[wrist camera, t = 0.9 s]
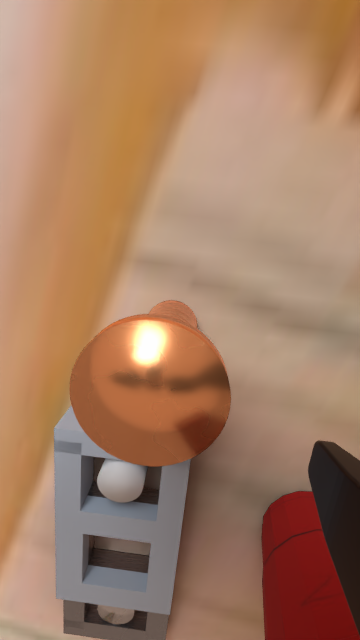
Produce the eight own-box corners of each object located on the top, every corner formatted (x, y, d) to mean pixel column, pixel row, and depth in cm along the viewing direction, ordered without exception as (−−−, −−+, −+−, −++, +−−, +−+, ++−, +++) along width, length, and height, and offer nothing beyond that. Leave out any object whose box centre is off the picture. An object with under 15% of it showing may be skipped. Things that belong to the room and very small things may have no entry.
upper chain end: (193, 420, 19) (192, 445, 17) (172, 577, 23) (169, 614, 21) (71, 405, 20) (54, 428, 17) (70, 562, 23) (56, 598, 21)
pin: (221, 286, 17) (242, 331, 9) (209, 370, 18) (218, 475, 10) (130, 276, 17) (69, 311, 9) (125, 360, 19) (69, 455, 10)
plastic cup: (422, 507, 20) (727, 874, 8) (317, 599, 23) (439, 972, 11) (291, 426, 19) (433, 717, 8) (197, 533, 22) (196, 867, 10)
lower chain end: (183, 493, 21) (183, 508, 20) (165, 628, 25) (164, 647, 23) (70, 478, 21) (63, 492, 20) (69, 614, 25) (63, 633, 24)
